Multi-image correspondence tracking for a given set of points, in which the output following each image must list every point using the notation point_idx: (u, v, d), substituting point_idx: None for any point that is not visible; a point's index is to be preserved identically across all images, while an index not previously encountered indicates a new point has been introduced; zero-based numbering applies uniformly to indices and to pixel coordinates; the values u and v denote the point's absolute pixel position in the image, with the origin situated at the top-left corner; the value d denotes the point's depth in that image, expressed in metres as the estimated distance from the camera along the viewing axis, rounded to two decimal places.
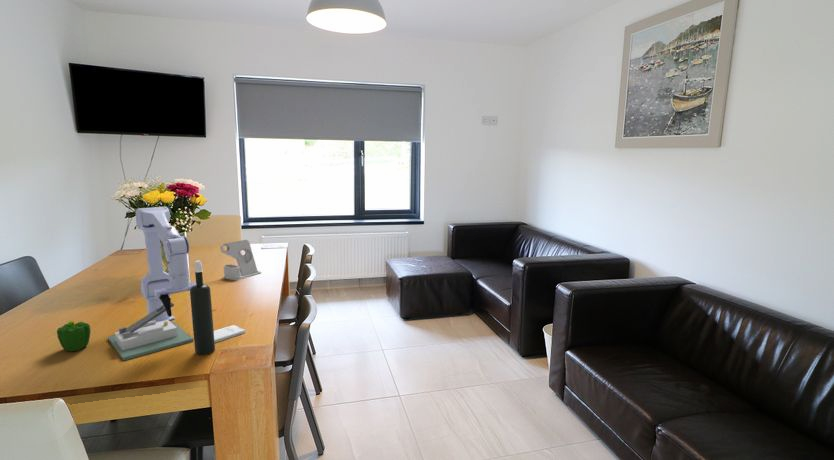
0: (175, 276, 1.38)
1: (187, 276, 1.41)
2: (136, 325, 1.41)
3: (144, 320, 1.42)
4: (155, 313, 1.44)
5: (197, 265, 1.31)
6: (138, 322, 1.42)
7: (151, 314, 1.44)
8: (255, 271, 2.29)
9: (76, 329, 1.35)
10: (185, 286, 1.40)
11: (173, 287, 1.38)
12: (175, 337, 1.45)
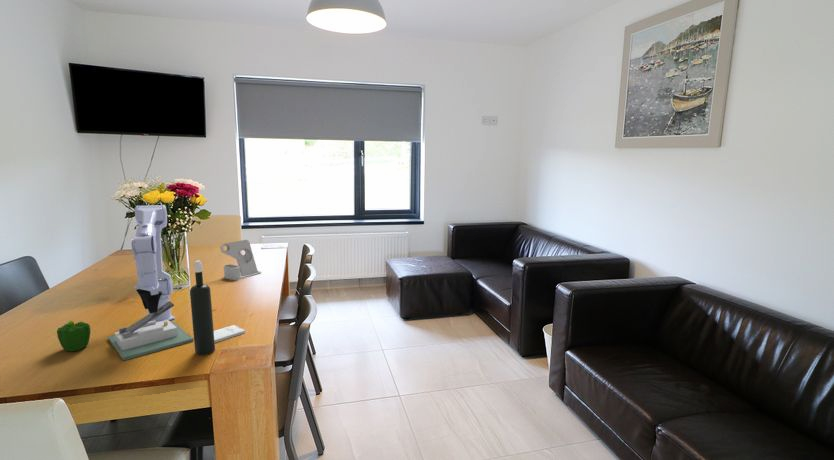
0: None
1: (142, 276, 1.39)
2: (136, 325, 1.41)
3: (144, 320, 1.42)
4: (155, 313, 1.44)
5: (197, 265, 1.31)
6: (138, 322, 1.42)
7: (151, 314, 1.44)
8: (255, 271, 2.29)
9: (76, 329, 1.35)
10: (139, 285, 1.40)
11: None
12: (175, 337, 1.45)
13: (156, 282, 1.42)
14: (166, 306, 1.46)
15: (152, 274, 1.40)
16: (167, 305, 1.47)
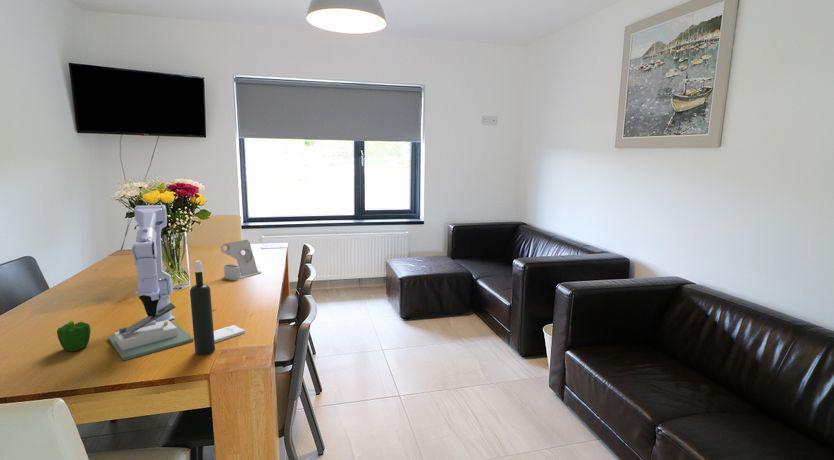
0: None
1: (143, 282, 1.39)
2: (136, 325, 1.41)
3: (145, 321, 1.42)
4: (156, 314, 1.44)
5: (197, 265, 1.31)
6: (138, 323, 1.42)
7: None
8: (255, 271, 2.29)
9: (76, 329, 1.35)
10: (140, 290, 1.40)
11: None
12: (175, 337, 1.45)
13: (157, 287, 1.42)
14: (167, 308, 1.47)
15: (153, 279, 1.41)
16: (168, 307, 1.47)
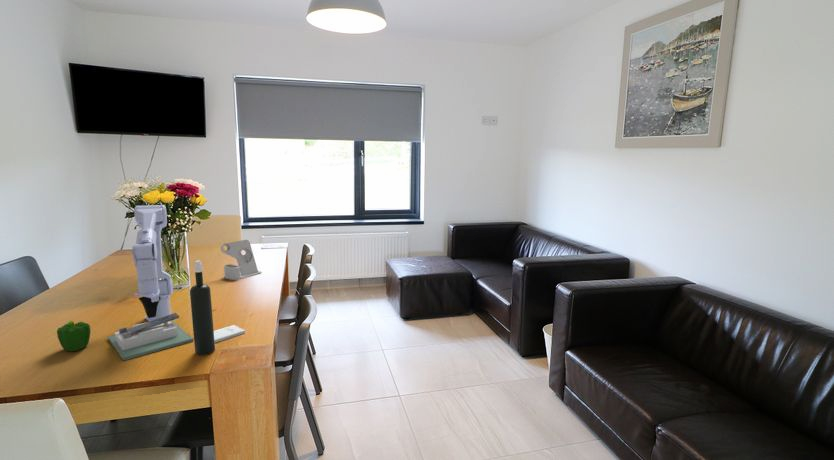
0: None
1: (143, 283, 1.39)
2: (138, 328, 1.41)
3: (147, 325, 1.43)
4: (159, 321, 1.45)
5: (197, 265, 1.31)
6: (140, 326, 1.43)
7: (155, 321, 1.46)
8: (255, 271, 2.29)
9: (76, 329, 1.35)
10: (140, 292, 1.40)
11: None
12: (175, 337, 1.45)
13: (157, 289, 1.43)
14: (171, 316, 1.48)
15: (153, 281, 1.41)
16: (172, 316, 1.48)
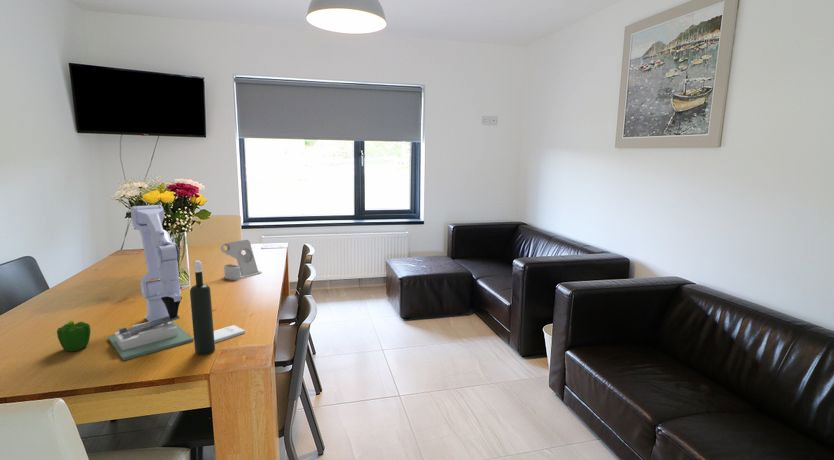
0: None
1: (165, 283, 1.44)
2: (138, 328, 1.41)
3: (147, 325, 1.43)
4: (159, 321, 1.45)
5: (197, 265, 1.31)
6: (140, 326, 1.43)
7: (155, 321, 1.46)
8: (255, 271, 2.29)
9: (76, 329, 1.35)
10: (162, 292, 1.45)
11: None
12: (175, 337, 1.45)
13: (178, 289, 1.47)
14: (172, 317, 1.48)
15: (175, 281, 1.46)
16: None
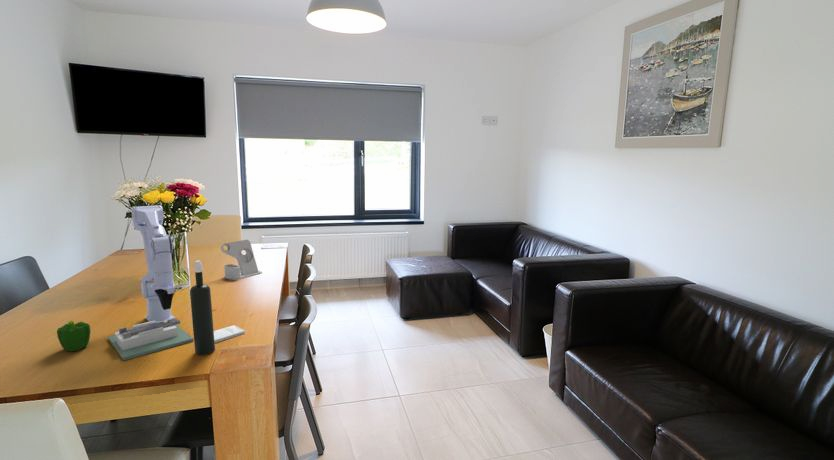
0: None
1: (159, 276, 1.44)
2: (138, 329, 1.41)
3: (147, 327, 1.43)
4: (160, 324, 1.46)
5: (197, 265, 1.31)
6: (141, 327, 1.43)
7: (156, 324, 1.46)
8: (256, 271, 2.29)
9: (76, 329, 1.35)
10: (156, 284, 1.44)
11: None
12: (175, 337, 1.45)
13: (172, 281, 1.47)
14: (172, 321, 1.48)
15: (168, 274, 1.45)
16: (173, 321, 1.49)
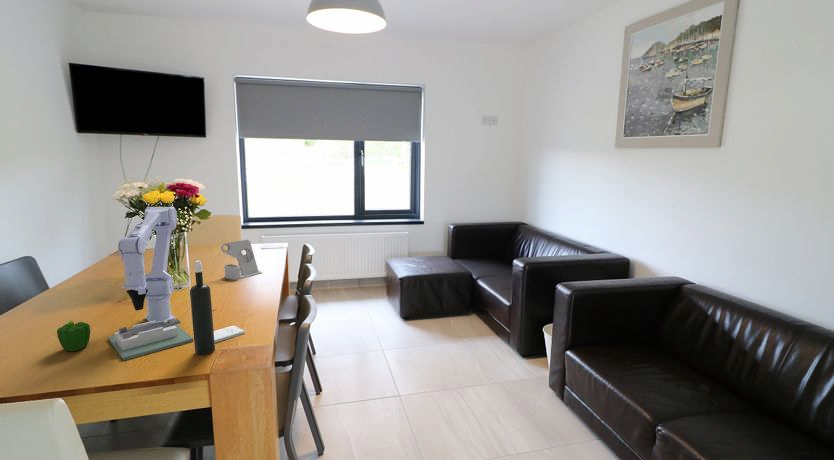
0: None
1: (130, 276, 1.43)
2: (138, 329, 1.41)
3: (147, 327, 1.43)
4: (160, 324, 1.46)
5: (197, 265, 1.31)
6: (141, 327, 1.43)
7: (156, 324, 1.46)
8: (256, 271, 2.29)
9: (76, 329, 1.35)
10: (127, 285, 1.43)
11: None
12: (175, 337, 1.45)
13: (144, 282, 1.46)
14: (172, 321, 1.48)
15: (140, 274, 1.44)
16: (173, 321, 1.49)
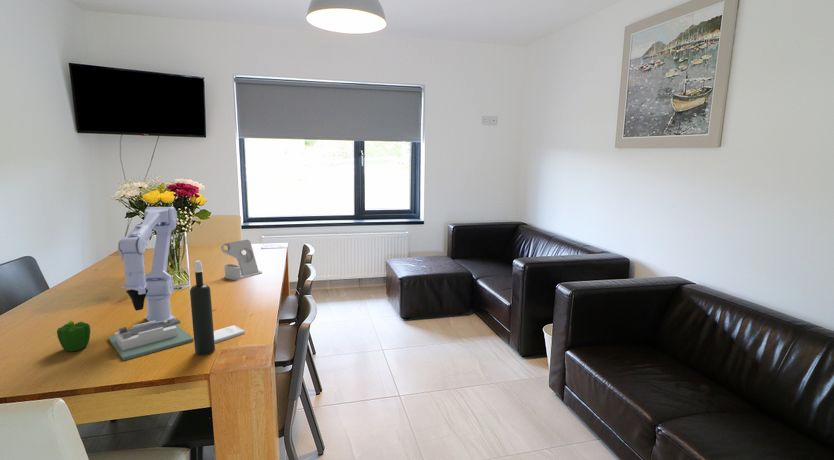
0: None
1: (130, 276, 1.43)
2: (138, 329, 1.41)
3: (147, 327, 1.43)
4: (160, 324, 1.46)
5: (197, 265, 1.31)
6: (141, 327, 1.43)
7: (156, 324, 1.46)
8: (256, 271, 2.29)
9: (76, 329, 1.35)
10: (127, 285, 1.43)
11: None
12: (175, 337, 1.45)
13: (144, 282, 1.46)
14: (172, 321, 1.48)
15: (140, 274, 1.44)
16: (173, 321, 1.49)
